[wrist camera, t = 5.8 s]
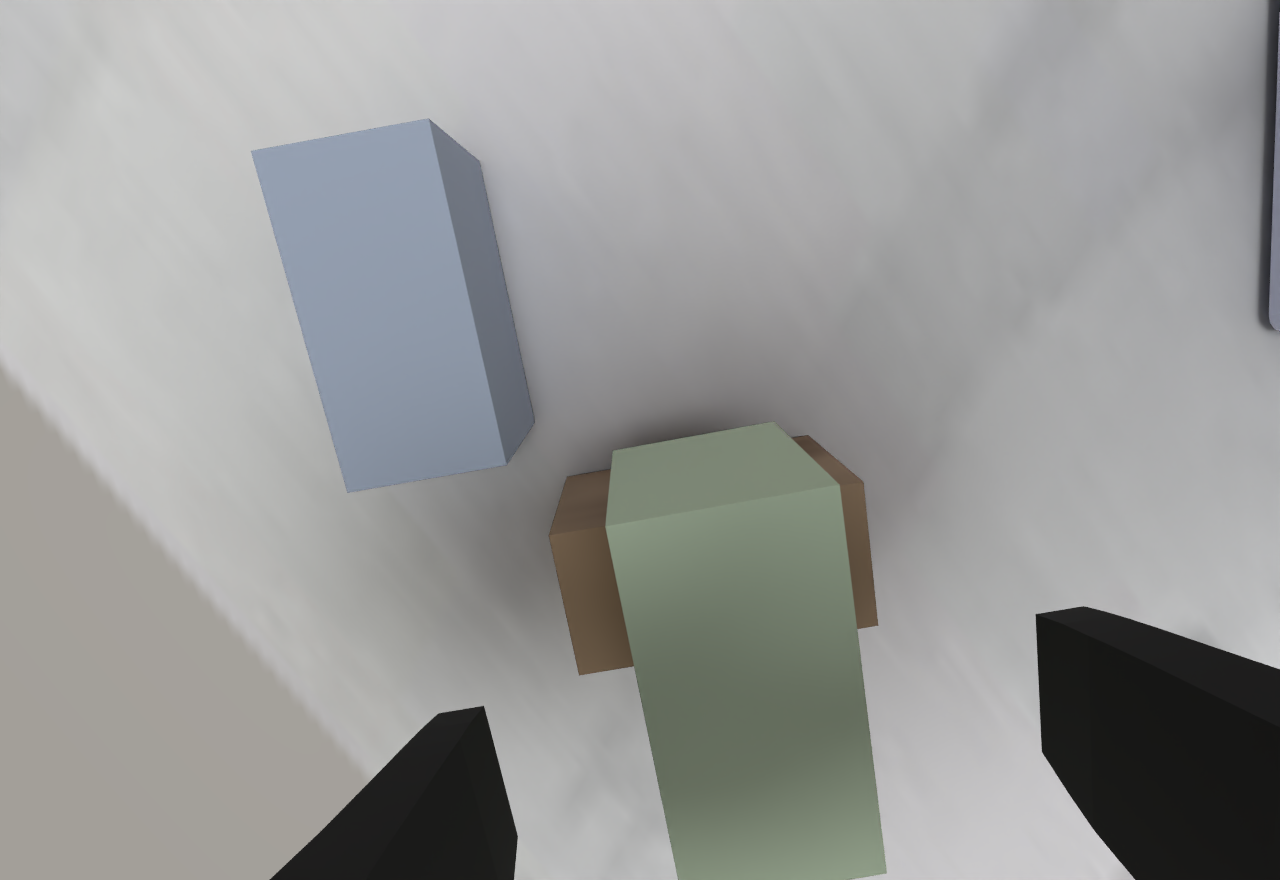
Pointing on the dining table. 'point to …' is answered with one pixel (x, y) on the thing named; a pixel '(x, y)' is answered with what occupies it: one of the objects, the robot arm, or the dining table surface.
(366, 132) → the slate brick
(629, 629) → the sage brick
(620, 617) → the walnut brick
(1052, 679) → the robot arm
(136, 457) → the dining table surface
